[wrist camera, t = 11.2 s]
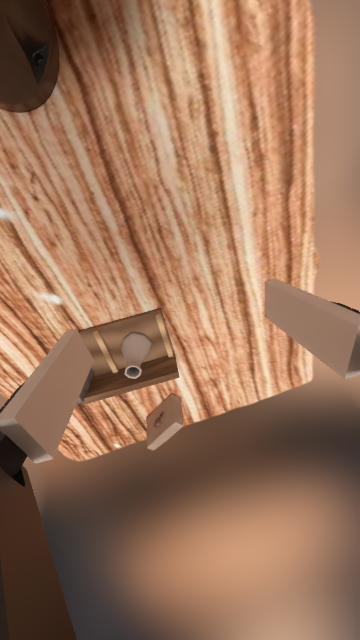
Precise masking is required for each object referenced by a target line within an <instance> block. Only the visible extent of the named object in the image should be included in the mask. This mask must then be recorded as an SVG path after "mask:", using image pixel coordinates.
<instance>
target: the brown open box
mask: <svg viewBox="0 0 360 640" xmlns="http://www.w3.org/2000/svg"><path fill="white" fill-rule="evenodd" d="M78 332H79V334H80V336H81V337H82V339H83V341H84V343H85V345H86V347H87V349H88V350H89V352H90V354H91V356H92V358H93V360H94V362H93V364H92V367H91V369H90V371H89V374H88V376H87V379H86V381H85V383H84V386H83V388H82V391H81V393H80V395H79V398H78V400H77V403H76V404H79V403H83V404H87V403H91V402H95V401H98V400H102V399H105V398H109V397H112V396H116V395H119V394H123V393H126V392H130V391H133V390H137V389H140V388H144V387H147V386H151V385H155V384H158V383H162V382H165V381H169V380H172V379H176V378H179V373H178V368H177V362H176V357H175V353H174V350H173V347H172V344H171V340H170V337H169V334H168V331H167V328H166V324H165V321H164V318H163V315H162V311H161V308H160V309H156V310H152V311H149V312H145V313H142V314H138V315H134V316H131V317H127V318H123V319H120V320H116V321H112V322H109V323H105V324H102V325H98V326H94V327H91V328H87V329H83V330H80V331H78ZM131 332H137V333H142V334H145V335H146V336H147V337H148V338H149V339H150V340H151V341H152V345H151V349H150V352H149V353H148V355H147V356H146V357H145V359H144V360H143V362H142V363H141V367H140V368H141V369H142V371H141V375H140V376H139V377H137V378H136V379H132V378H128V377H127V376H126V375H125V369H126V367H127V362H126V360H125V357H124V355H123V353H122V351H121V345H122V339H123V338H124V337H126V336H127V335H128V334H129V333H131Z"/></svg>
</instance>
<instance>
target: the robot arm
mask: <svg viewBox="0 0 360 640" xmlns="http://www.w3.org/2000/svg"><path fill="white" fill-rule="evenodd" d="M58 67H59V51H58V43H57V37H56V32H55V28H54V25H53V21H52V18H51V16H50V13H49V10H48V8H47V5H46V3H45V1H44V0H0V108H1V109H4V110H7V111H12V112H25V111H30V110H33V109H35V108H37V107H39V106H40V105H41V104H43V103H44V102H45V101H46V100H47V98H48V97H49V96H50V94H51V92H52V90H53V88H54V86H55V83H56V79H57V75H58ZM265 317H266V318H268V319H269V320H270V321H271V322H273V323H274V324H275V325H276V326H278V327H279V328H280V329H282V330H283V331H284V332H285V333H287V334H288V335H289V336H290V337H292V338H293V339H294V340H296V341H297V342H298V343H299V344H301V345H302V346H303V347H304V348H306V349H307V350H308V351H310V352H311V353H312V354H313V355H315V356H316V357H317V358H319V359H320V360H321V361H322V362H324V363H325V364H326V365H327V366H329V367H330V368H331V369H333V370H334V371H335V372H336V373H338V374H339V375H340V376H341V377H343V378H344V379H347V378H350V377H354V376H358V375H360V312H359V311H358V310H355V309H351V308H350V307H348V306H345V305H343V304H340V303H335V302H330V301H327V300H325V299H322V298H320V297H318V296H315V295H313V294H311V293H308V292H306V291H303V290H301V289H299V288H296V287H294V286H291V285H289V284H287V283H284V282H282V281H280V280H277V279H272V280H268V281H265ZM93 362H94V360H93V358H92V356H91V354H90V352H89V350H88V349H87V347H86V345H85V343H84V341H83V339H82V337H81V336H80V334H79V332H78V330H77V329H75V330H71V331H67V332H65V333H64V334H63V336H62V337H61V338H60V339H59V341H58V342H57V343H56V344H55V346H54V347H53V348H52V349H51V351H50V352H49V353H48V354H47V356H46V357H45V358H44V359H43V361H42V362H41V363H40V364H39V366H38V367H37V368H36V369H35V371H34V372H33V373H32V375H31V376H30V377H29V378H28V380H27V381H26V382H25V383H23V384H22V385H21V386H20V387H19V388H17V390H16V391H15V392H14V393H13V395H12V396H11V397H10V399H8V401H7V402H6V403H5V406H3V407H2V408H1V409H0V640H77V639H76V635H75V632H74V628H73V625H72V621H71V618H70V615H69V611H68V608H67V604H66V601H65V598H64V594H63V591H62V587H61V584H60V581H59V577H58V574H57V571H56V567H55V564H54V560H53V557H52V554H51V550H50V547H49V544H48V540H47V537H46V533H45V530H44V527H43V523H42V520H41V516H40V513H39V510H38V506H37V503H36V499H35V496H34V493H33V489H32V486H31V483H30V479H29V476H28V472H27V470H26V469H25V467H23V466H22V465H23V463H24V461H25V459H26V457H27V456H28V457H29V458H30V459H31V460H32V461H33V462H34V463H35V464H36V463H39V462H43V461H46V460H50V459H53V458H54V455H55V453H56V451H57V448H58V446H59V444H60V441H61V439H62V436H63V434H64V432H65V429H66V427H67V424H68V422H69V419H70V417H71V415H72V412H73V410H74V407H75V405H76V403H77V400H78V398H79V395H80V393H81V391H82V388H83V386H84V383H85V381H86V379H87V376H88V374H89V371H90V369H91V367H92V364H93Z"/></svg>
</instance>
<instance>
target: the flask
mask: <svg viewBox="0 0 360 640" xmlns="http://www.w3.org/2000/svg"><path fill="white" fill-rule="evenodd" d="M151 345H152V341H151V340H150V339H149V338H148V337H147V336H146V335H145V334H142V333H137V332H131V333H129V334H128V335H127V336H126V337H124V338H123V339H122V345H121V351H122V353H123V355H124V357H125V360H126V362H127V367H126V369H125V375H126V376H127V377H128V378H132V379H136V378H137V377H139V376H140V375H141V371H142V369H141V368H140V367H141V363H142V362H143V360H144V359H145V357H146V356H147V355H148V353H149V352H150V349H151Z"/></svg>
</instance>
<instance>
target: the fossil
mask: <svg viewBox="0 0 360 640" xmlns="http://www.w3.org/2000/svg"><path fill="white" fill-rule="evenodd" d="M182 427H183V412H182V406H181V399H180V397H179V396H177V395H175V394H173V393H172V394H171V395H170V396H168V397H167V398H166V399H165V400H164V401H163V402H162V403H161V404H160V405H159V406H158V407H157V408H156V409H155V410H154V411H152V413H151V414H150V415H149V416H147V448H148V449H151V450H155V449H156V448H157V447H159V446H160V445H161V444H162V443H164V442H165V441H167V440H168V439H169V438H170V437H171V436H172V435H174V434H175V433H176V432H177V431H178V430H179V429H180V428H182Z"/></svg>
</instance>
